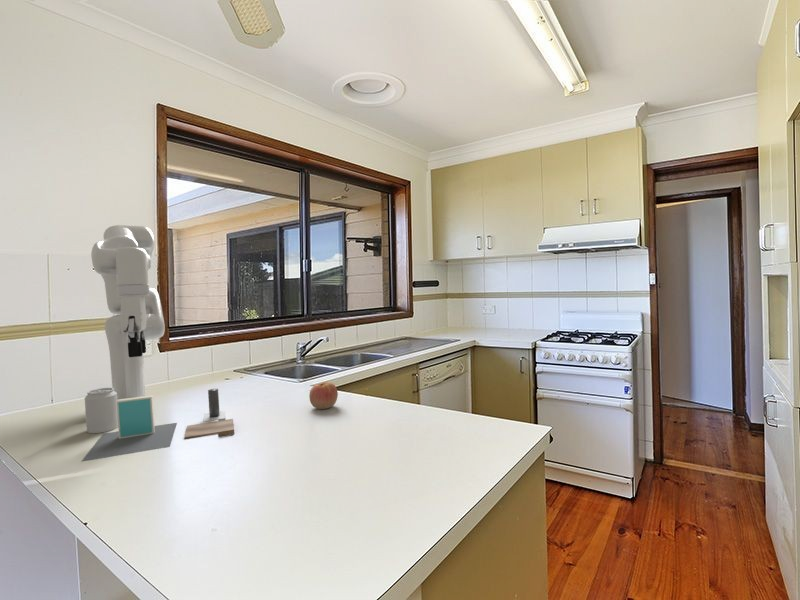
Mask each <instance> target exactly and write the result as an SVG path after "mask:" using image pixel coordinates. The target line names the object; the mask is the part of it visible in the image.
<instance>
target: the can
mask: <svg viewBox="0 0 800 600" xmlns="http://www.w3.org/2000/svg"><path fill="white" fill-rule="evenodd" d="M113 390H114V388H112V387H102V388H96V389H92V390H89V391H87V393H86V394H87V395H86V396H85V397H84V406H85V408H84V409H85V410H84V411H85V422H86V424H85V425H86V433H88V434H101V433H102V434H103V433H108V432H110V431H113V430H115V429H118V415H117V393H116V392H115V391H113Z"/></svg>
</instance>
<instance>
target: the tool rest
mask: <svg viewBox="0 0 800 600" xmlns="http://www.w3.org/2000/svg"><path fill="white" fill-rule="evenodd" d="M212 435H217V437H222V436H229V435H230V436H231V435H235V424H234V419H233V418H230V419H226V420H222V421H218V420H214V421H208V422H203V423H198V424H196V423H195V424H190V425H187V426H186V429H185V433H184V440H186V439H187V440H189V439H194V438H200V437H205V436H207V437H208V436H212Z"/></svg>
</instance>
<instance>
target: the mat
mask: <svg viewBox="0 0 800 600" xmlns="http://www.w3.org/2000/svg"><path fill="white" fill-rule="evenodd" d="M177 425H178V422H173V423H165V424H159V425H155V432H154V433H153V434H147V435H140V436H134V437H127V438H121V439H119V430H117V431H112V432H103V433H102V435H101V436H100V437H99V438H98V439H97V441H96V442H95V443H94V444H93V446H92V447H91V448H90V450H89V451H88V452H87V454H86V455H85V456H84V457H83V458H82V460H81V461H80V462H86V461H88V462H89V461H92V460H99V459H105V458H110V457H115V456H117V457H118V456H122V455H129V454H134V453H135V454H136V453H140V452H146V451H153V450H159V449H165V448H170V447H171V445H172V441H173V437H174V434H175V430H176V427H177Z"/></svg>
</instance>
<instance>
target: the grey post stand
mask: <svg viewBox="0 0 800 600" xmlns="http://www.w3.org/2000/svg"><path fill="white" fill-rule="evenodd" d="M207 394H208V395H207V396H208V412H207V413H204V414H203V421H202V422H203V423H206V422H213V421H222V420H227V419H226V410H222V411H220V396H219V388H210V389H208V390H207Z"/></svg>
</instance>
